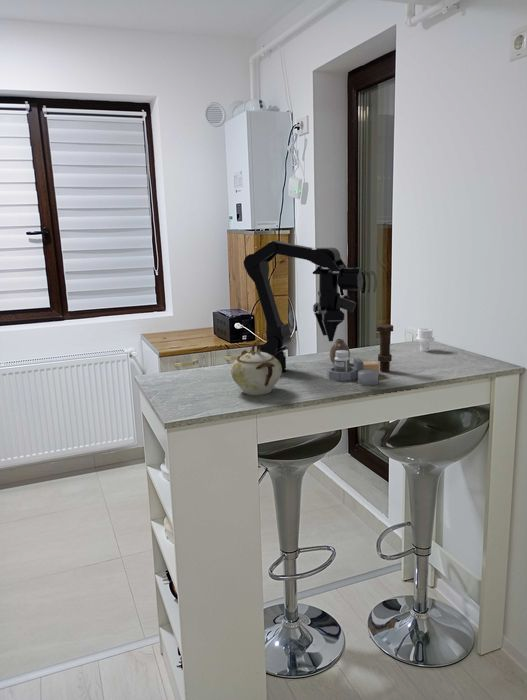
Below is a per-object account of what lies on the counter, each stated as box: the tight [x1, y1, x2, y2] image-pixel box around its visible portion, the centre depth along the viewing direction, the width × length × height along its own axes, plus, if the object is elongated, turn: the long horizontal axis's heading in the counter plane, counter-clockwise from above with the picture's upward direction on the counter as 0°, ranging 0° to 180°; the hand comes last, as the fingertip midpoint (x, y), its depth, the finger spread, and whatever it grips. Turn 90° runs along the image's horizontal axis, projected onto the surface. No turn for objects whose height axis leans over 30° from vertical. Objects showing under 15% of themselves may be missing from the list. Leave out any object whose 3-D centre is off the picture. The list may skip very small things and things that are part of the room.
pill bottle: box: [334, 350, 351, 372], centre depth 186 cm, size 5×5×8 cm
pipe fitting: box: [415, 327, 435, 353], centre depth 218 cm, size 6×7×8 cm
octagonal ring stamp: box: [326, 357, 380, 382], centre depth 186 cm, size 16×9×5 cm, turn 96°
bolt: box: [376, 323, 394, 373], centre depth 190 cm, size 6×5×15 cm
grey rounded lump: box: [357, 369, 379, 386], centre depth 179 cm, size 6×6×4 cm
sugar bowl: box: [230, 341, 283, 396], centre depth 173 cm, size 20×15×15 cm
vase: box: [329, 338, 351, 366], centre depth 201 cm, size 7×7×9 cm
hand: (327, 338), depth 186 cm, fingers open, 9 cm apart
